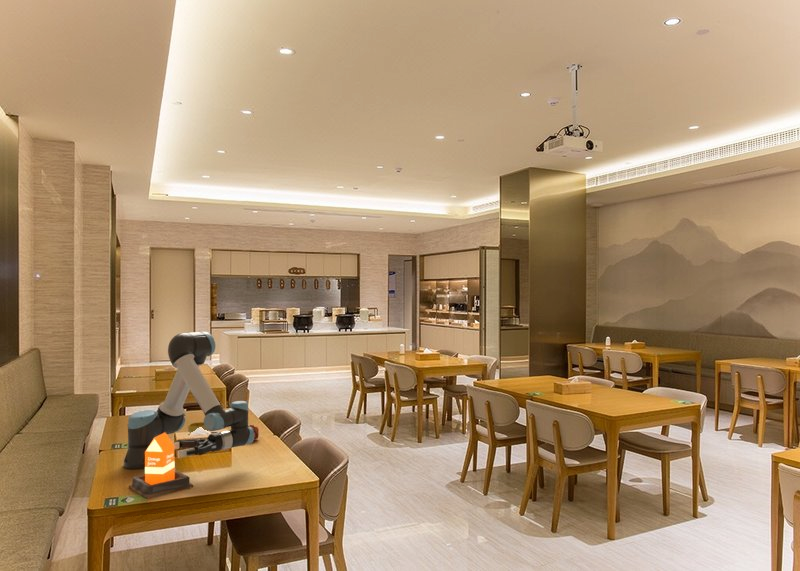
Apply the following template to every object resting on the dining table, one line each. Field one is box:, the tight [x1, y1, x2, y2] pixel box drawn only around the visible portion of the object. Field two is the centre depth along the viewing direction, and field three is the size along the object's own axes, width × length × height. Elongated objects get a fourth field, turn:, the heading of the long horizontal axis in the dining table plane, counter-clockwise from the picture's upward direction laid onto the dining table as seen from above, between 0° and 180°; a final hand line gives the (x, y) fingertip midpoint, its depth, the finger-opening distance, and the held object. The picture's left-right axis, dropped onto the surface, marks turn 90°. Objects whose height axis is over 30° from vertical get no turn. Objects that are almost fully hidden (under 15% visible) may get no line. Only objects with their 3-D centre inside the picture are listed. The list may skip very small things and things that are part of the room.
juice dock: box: [128, 469, 194, 499], centre depth 228 cm, size 18×18×4 cm
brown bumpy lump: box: [248, 424, 260, 440], centre depth 302 cm, size 8×8×12 cm
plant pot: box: [187, 421, 209, 434], centre depth 297 cm, size 10×10×10 cm
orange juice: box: [144, 433, 176, 485], centre depth 228 cm, size 8×9×20 cm
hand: (170, 451), depth 231 cm, fingers open, 13 cm apart
